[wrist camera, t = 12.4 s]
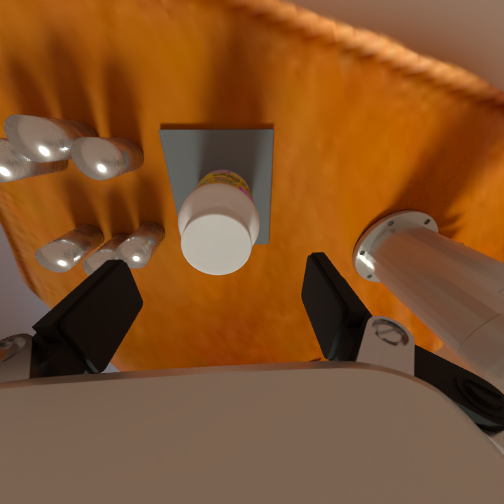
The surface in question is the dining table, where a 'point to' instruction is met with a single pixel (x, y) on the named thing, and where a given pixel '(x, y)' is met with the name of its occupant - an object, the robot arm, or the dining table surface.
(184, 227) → the supplement bottle
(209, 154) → the rubber mat
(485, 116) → the dining table surface
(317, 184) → the dining table surface
